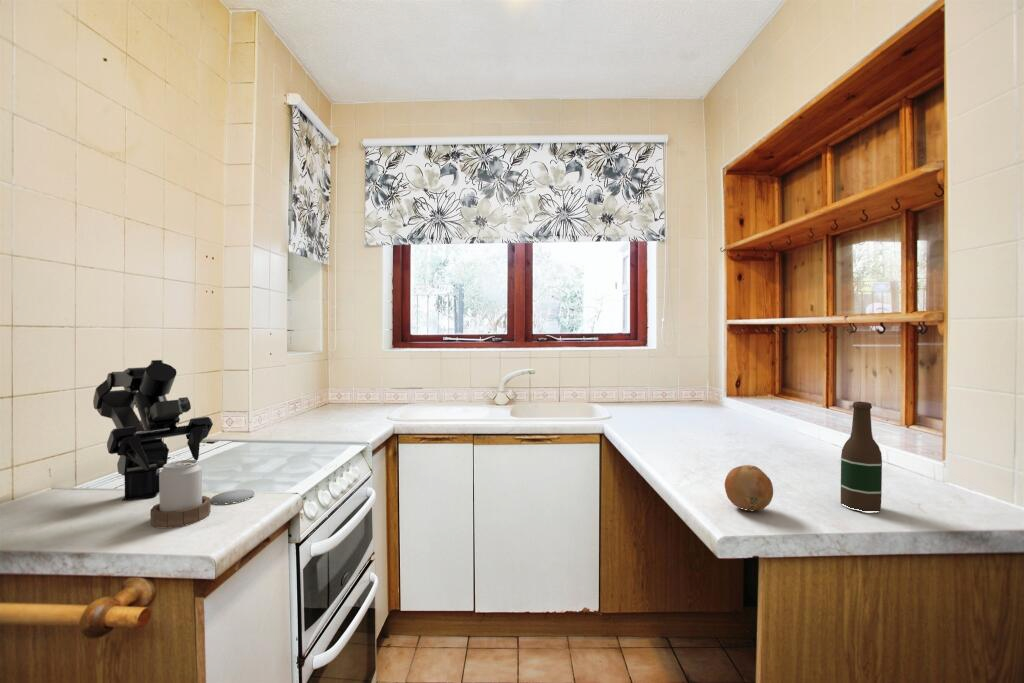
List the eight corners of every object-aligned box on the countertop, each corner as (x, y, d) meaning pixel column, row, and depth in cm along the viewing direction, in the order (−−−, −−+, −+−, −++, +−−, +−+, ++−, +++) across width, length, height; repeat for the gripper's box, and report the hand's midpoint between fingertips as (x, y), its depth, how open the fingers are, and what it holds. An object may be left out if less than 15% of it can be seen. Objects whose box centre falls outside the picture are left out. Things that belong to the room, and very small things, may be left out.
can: (180, 526, 95) (179, 468, 95) (150, 523, 96) (149, 466, 96) (210, 512, 102) (210, 458, 102) (182, 510, 104) (182, 457, 104)
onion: (760, 502, 108) (760, 459, 108) (782, 518, 98) (782, 472, 98) (717, 501, 109) (718, 459, 109) (735, 517, 99) (735, 471, 99)
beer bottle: (874, 503, 107) (875, 400, 107) (889, 516, 100) (890, 405, 99) (834, 499, 110) (836, 399, 109) (846, 511, 102) (847, 403, 102)
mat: (207, 507, 106) (207, 504, 106) (214, 494, 114) (214, 492, 114) (252, 501, 109) (252, 498, 109) (256, 489, 118) (256, 487, 118)
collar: (144, 531, 93) (144, 516, 93) (159, 513, 102) (158, 499, 102) (205, 522, 97) (205, 508, 97) (213, 506, 106) (213, 493, 106)
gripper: (110, 391, 97) (128, 450, 91) (209, 383, 112) (230, 434, 106) (99, 424, 102) (116, 483, 95) (195, 412, 117) (215, 462, 111)
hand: (173, 464), depth 102 cm, fingers open, 9 cm apart
